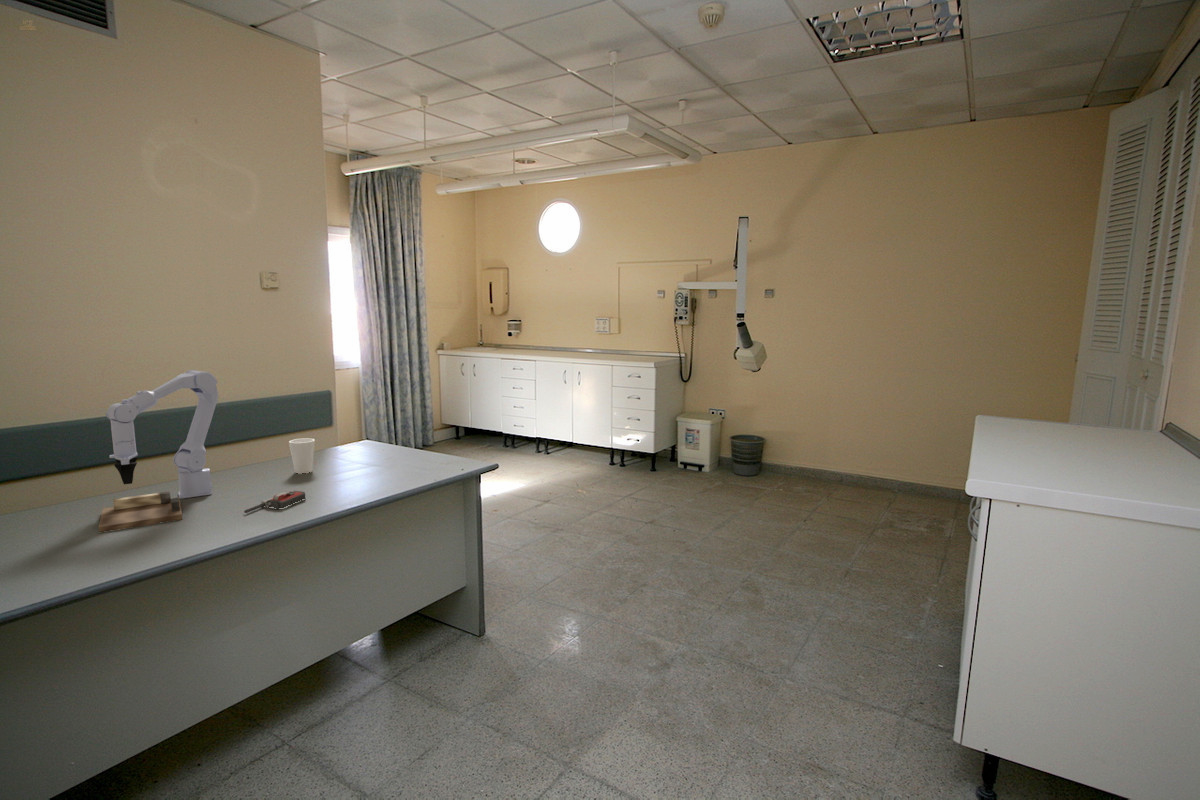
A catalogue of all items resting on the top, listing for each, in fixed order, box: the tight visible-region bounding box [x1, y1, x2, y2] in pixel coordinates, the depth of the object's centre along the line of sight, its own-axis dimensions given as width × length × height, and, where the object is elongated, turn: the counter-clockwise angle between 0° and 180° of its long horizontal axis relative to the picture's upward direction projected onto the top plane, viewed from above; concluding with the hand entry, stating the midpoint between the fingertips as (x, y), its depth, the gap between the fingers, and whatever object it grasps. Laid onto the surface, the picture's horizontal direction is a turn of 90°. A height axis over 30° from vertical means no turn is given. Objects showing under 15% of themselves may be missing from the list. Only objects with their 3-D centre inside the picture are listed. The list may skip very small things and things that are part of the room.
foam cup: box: [288, 437, 316, 475], centre depth 240 cm, size 10×9×13 cm
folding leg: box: [112, 491, 172, 510], centre depth 191 cm, size 15×3×3 cm, turn 127°
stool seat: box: [98, 497, 183, 533], centre depth 187 cm, size 20×20×5 cm
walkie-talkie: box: [243, 490, 306, 514], centre depth 199 cm, size 9×4×20 cm
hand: (128, 481), depth 192 cm, fingers open, 6 cm apart
